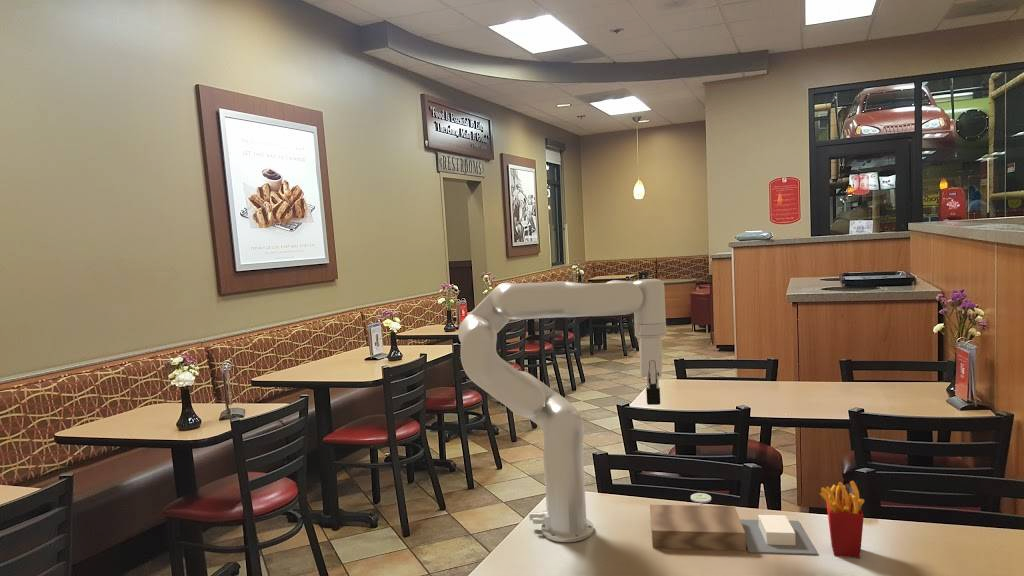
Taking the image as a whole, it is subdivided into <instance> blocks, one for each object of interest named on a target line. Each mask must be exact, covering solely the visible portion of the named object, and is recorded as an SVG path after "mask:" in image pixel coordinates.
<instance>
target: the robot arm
mask: <svg viewBox="0 0 1024 576" xmlns="http://www.w3.org/2000/svg"><path fill="white" fill-rule="evenodd" d="M665 292H666V291H665V284H664V281H663V280H661V279H658V278H642V279H637V280H619V279H617V280H616V279H614V280H610V281H606V283H581V282H574V281H564V280H563V281H561V280H560V281H559V280H558V281H546V282H524V283H523V282H521V283H520V282H519V283H514V282H513V283H512V282H503V283H500V284H498V285H497V286H495V287H494V288H493V289H492V290H491V292H490V293H488V295H487V296H486V297H484V298H483V299H482V300H481V301H480V303H479V304H477V306H475V308H473V309H472V311H470V312H469V314H468V315H467V316H466V317H464V319H463V320H462V321H461V323H459V327H458V332H457V334H458V340H459V342H460V362H461V366H462V368H463V370H464V373H465V374H466V377H468V378H469V380H470V381H472V383H474V384H475V385H476V386H478V387H479V388H480V389H482V390H483V391H485V393H487V394H489V395H490V396H491V397H492V398H494V399H495V400H496V401H498V402H500V403H501V404H502V405H503V406H505V407H507V409H509V410H510V411H511V412H512V413H514V414H515V415H517V416H519V417H523V418H527V420H530V421H531V422H533V423H534V424H536V425H537V426H539V427H540V429H541V431H542V433H543V471H544V484H545V502H546V503H545V505H546V509H545V511H544V510H543V511H542V512H537V511H530V512H529V521H532V524H533V525H541V528H540V529H541V534H542V536H543V537H545V538H546V539H548V540H550V541H554V542H557V543H574V542H579V541H580V542H581V541H583V540H585V539H588V538H590V536H592V534H593V533H594V523H593V522H592V521H591V520H590V519H588V518H587V504H586V488H585V487H586V485H585V470H584V469H585V467H584V438H585V437H584V436H585V424H584V421H583V417H582V415H581V413H580V412H579V409H577V408H576V407H575V406H574V405H573V404H572V403H571V402H570V401H568V400H567V398H565V397H564V396H562V395H561V394H559V392H556V390H554V389H552V388H551V387H549V386H548V385H546V384H545V382H543V381H541V380H540V379H538V378H536V377H535V376H534V375H533V374H531V373H529V372H528V371H527V372H526V371H523V370H518V369H517V368H515V367H514V366H513V365H511V363H509V362H507V361H506V360H504V358H502V357H500V355H499V354H498V352H497V341H498V335H497V334H498V333H499V332H500V331H501V330H502V329H503V328H504V327H505V326H506V325H507V324H509V322H510V321H511V320H512V321H514V320H516V321H517V320H532V319H535V320H536V319H546V318H547V319H550V318H576V317H577V318H578V317H608V316H620V315H621V316H623V315H625V316H626V315H630V314H633V316H634V317H633V321H634V324H633V325H634V337H635V338H639V341H638V344H639V349H638V350H639V353H638V354H639V368H640V371H639V372H640V377H641V379H644V378H646V387H645V388H646V389H645V391H646V393H645V394H646V405H648V406H653V405H654V406H655V405H656V406H657V405H661V389H660V384H659V379H660V378H661V377H662V372H663V351H662V350H663V346H662V345H663V341H662V339H663V338H664V337H666V336H667V321H666V299H665V298H666V295H665V294H666V293H665Z"/></svg>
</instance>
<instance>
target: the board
mask: <svg viewBox="0 0 1024 576" xmlns="http://www.w3.org/2000/svg"><path fill="white" fill-rule="evenodd" d="M649 510H650V511H649V513H650V530H651V540H652V541H651V542H652V544H651V546H652V548H654V549H656V548H658V549H683V550H685V549H686V550H687V549H688V550H692V549H693V550H715V551H716V550H718V551H720V550H721V551H746V549H747V546H746V544H745V531H744V529H743V526H742V524H741V521H740V519H741V518H740V517H739V513H738V511H737V509H736V506H735V505H702V506H701V505H694V504H693V505H692V504H691V505H687V504H685V505H684V504H681V505H680V504H679V505H678V504H649Z"/></svg>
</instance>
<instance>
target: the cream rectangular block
mask: <svg viewBox="0 0 1024 576" xmlns="http://www.w3.org/2000/svg"><path fill="white" fill-rule="evenodd" d="M757 516H758V517H757V518H758V519H757V520H759V528H760V530H761V533H762V535H763V537H764V539H765V541H766V544H768V545H796V542H795V532H794V530H793V528H792V526H791V525H790V523H789V521H790V520H789V519H788V517H787V516H786V515H785V514H784V515H783V514H782V515H781V514H779V515H778V514H758V515H757ZM788 520H789V521H788Z"/></svg>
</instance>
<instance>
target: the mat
mask: <svg viewBox="0 0 1024 576" xmlns="http://www.w3.org/2000/svg"><path fill="white" fill-rule="evenodd" d="M740 521H741V524H742V526H743V529H744V531H745V544H746V549H747V552H748V553H749V554H774V555H776V554H777V555H804V556H805V555H807V556H808V555H809V556H811V555H812V556H818V555H819V554H818V551H817V550H816V549H815V547H814V545H813V543H812V542H811V540H810V538H809V537H808V535H807V533H806V531H805V530H804V528H803V527H802V524H801V523H800V521H799V520H789V519H788V521H789V523H790V525H791V526H792V528H793V530H794V532H795V542H796V545H768V544H766V541H765V539H764V537H763V535H762V533H761V530H760V528H759V520H758V519H743V518H742V519H741V518H740Z"/></svg>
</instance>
